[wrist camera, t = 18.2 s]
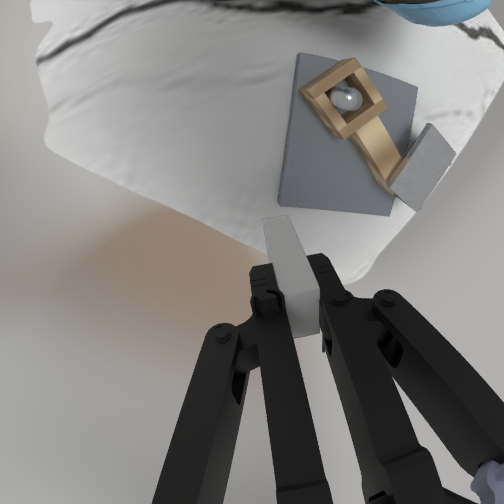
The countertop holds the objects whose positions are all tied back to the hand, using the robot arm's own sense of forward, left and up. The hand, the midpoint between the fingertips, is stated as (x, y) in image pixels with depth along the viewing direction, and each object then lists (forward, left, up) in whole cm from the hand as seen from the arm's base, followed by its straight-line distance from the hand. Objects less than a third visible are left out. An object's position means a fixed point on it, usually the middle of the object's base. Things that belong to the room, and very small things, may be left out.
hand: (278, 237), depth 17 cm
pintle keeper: (-4, +17, -21) cm, 27 cm away
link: (-6, +13, -19) cm, 24 cm away
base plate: (-4, +13, -21) cm, 25 cm away
